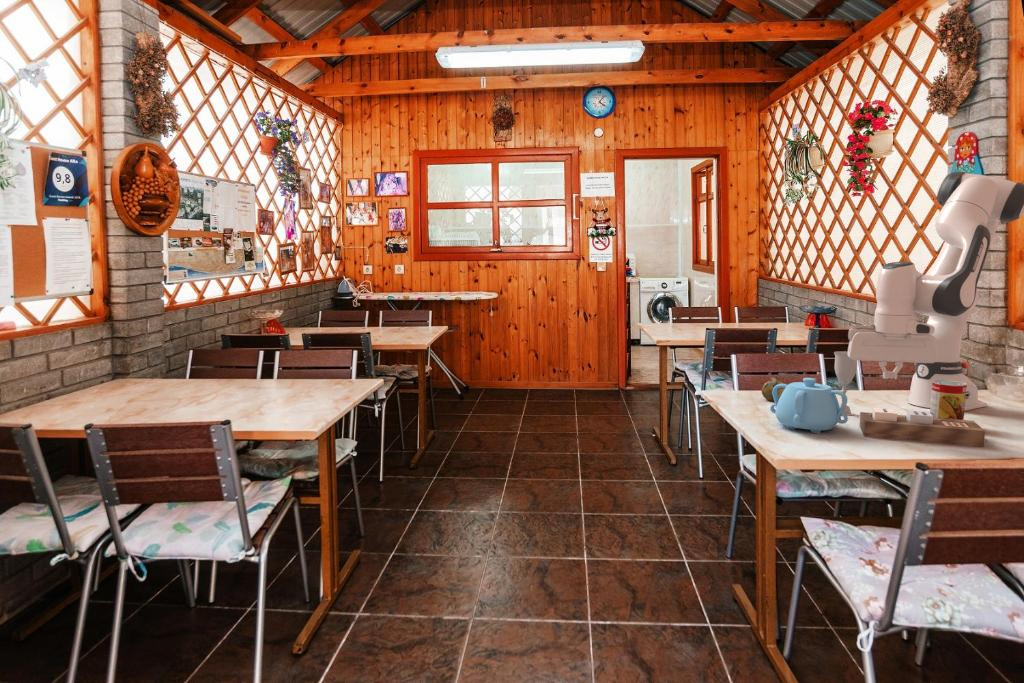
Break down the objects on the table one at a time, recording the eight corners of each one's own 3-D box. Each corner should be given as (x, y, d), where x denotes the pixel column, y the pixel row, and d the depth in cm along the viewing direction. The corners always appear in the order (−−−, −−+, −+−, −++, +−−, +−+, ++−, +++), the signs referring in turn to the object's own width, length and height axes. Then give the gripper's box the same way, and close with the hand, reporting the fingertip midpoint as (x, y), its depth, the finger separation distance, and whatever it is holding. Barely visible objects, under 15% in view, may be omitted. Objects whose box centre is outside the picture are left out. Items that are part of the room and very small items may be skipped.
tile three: (945, 436, 168) (946, 425, 168) (940, 431, 173) (941, 420, 172) (968, 438, 166) (969, 427, 166) (963, 433, 171) (964, 422, 170)
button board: (864, 436, 172) (865, 421, 172) (859, 426, 182) (860, 411, 182) (983, 447, 163) (985, 431, 162) (971, 435, 173) (973, 420, 172)
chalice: (858, 416, 193) (863, 355, 191) (833, 415, 194) (837, 354, 192) (851, 411, 200) (855, 351, 198) (827, 410, 201) (830, 351, 199)
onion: (791, 403, 211) (792, 378, 210) (766, 403, 211) (767, 378, 210) (782, 398, 218) (783, 374, 217) (757, 398, 219) (758, 374, 218)
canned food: (969, 429, 179) (973, 385, 178) (940, 429, 180) (943, 385, 178) (951, 422, 187) (954, 379, 186) (922, 421, 187) (926, 379, 186)
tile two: (909, 425, 171) (910, 414, 170) (906, 420, 175) (907, 409, 175) (932, 427, 169) (933, 415, 168) (928, 422, 173) (929, 411, 173)
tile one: (874, 422, 174) (875, 411, 173) (872, 418, 178) (872, 407, 178) (896, 424, 172) (897, 413, 171) (893, 419, 176) (894, 408, 176)
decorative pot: (825, 421, 189) (827, 373, 187) (851, 435, 173) (854, 384, 171) (766, 420, 189) (768, 373, 188) (787, 435, 173) (790, 383, 172)
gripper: (851, 325, 171) (848, 378, 173) (942, 327, 165) (937, 382, 167) (846, 323, 177) (843, 374, 179) (934, 325, 171) (929, 378, 173)
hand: (889, 378), depth 173 cm, fingers closed
